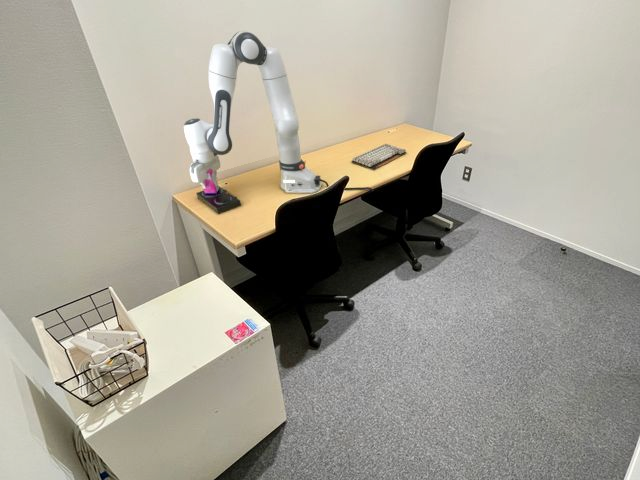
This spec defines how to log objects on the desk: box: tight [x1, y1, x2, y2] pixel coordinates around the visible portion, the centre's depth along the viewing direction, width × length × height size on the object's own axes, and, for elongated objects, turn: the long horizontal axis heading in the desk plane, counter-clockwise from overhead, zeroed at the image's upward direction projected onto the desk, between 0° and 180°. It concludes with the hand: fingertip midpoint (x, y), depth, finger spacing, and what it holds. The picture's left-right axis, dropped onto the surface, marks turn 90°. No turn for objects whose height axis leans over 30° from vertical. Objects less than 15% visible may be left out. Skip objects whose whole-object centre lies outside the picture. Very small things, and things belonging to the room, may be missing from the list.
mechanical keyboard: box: [351, 143, 407, 171], centre depth 213 cm, size 38×19×3 cm, turn 141°
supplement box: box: [203, 168, 219, 194], centre depth 161 cm, size 6×6×12 cm
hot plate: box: [195, 185, 242, 215], centre depth 163 cm, size 22×13×4 cm, turn 45°
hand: (209, 183), depth 162 cm, fingers open, 8 cm apart
